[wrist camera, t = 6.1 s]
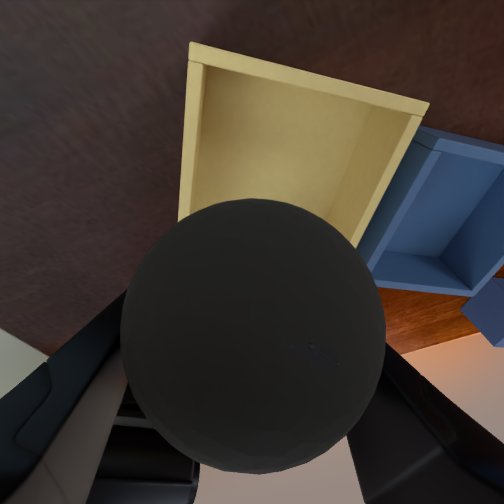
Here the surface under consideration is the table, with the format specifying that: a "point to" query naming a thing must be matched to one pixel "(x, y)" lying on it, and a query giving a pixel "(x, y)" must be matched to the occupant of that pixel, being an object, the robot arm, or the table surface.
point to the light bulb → (252, 336)
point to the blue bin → (439, 217)
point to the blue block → (488, 311)
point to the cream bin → (289, 138)
